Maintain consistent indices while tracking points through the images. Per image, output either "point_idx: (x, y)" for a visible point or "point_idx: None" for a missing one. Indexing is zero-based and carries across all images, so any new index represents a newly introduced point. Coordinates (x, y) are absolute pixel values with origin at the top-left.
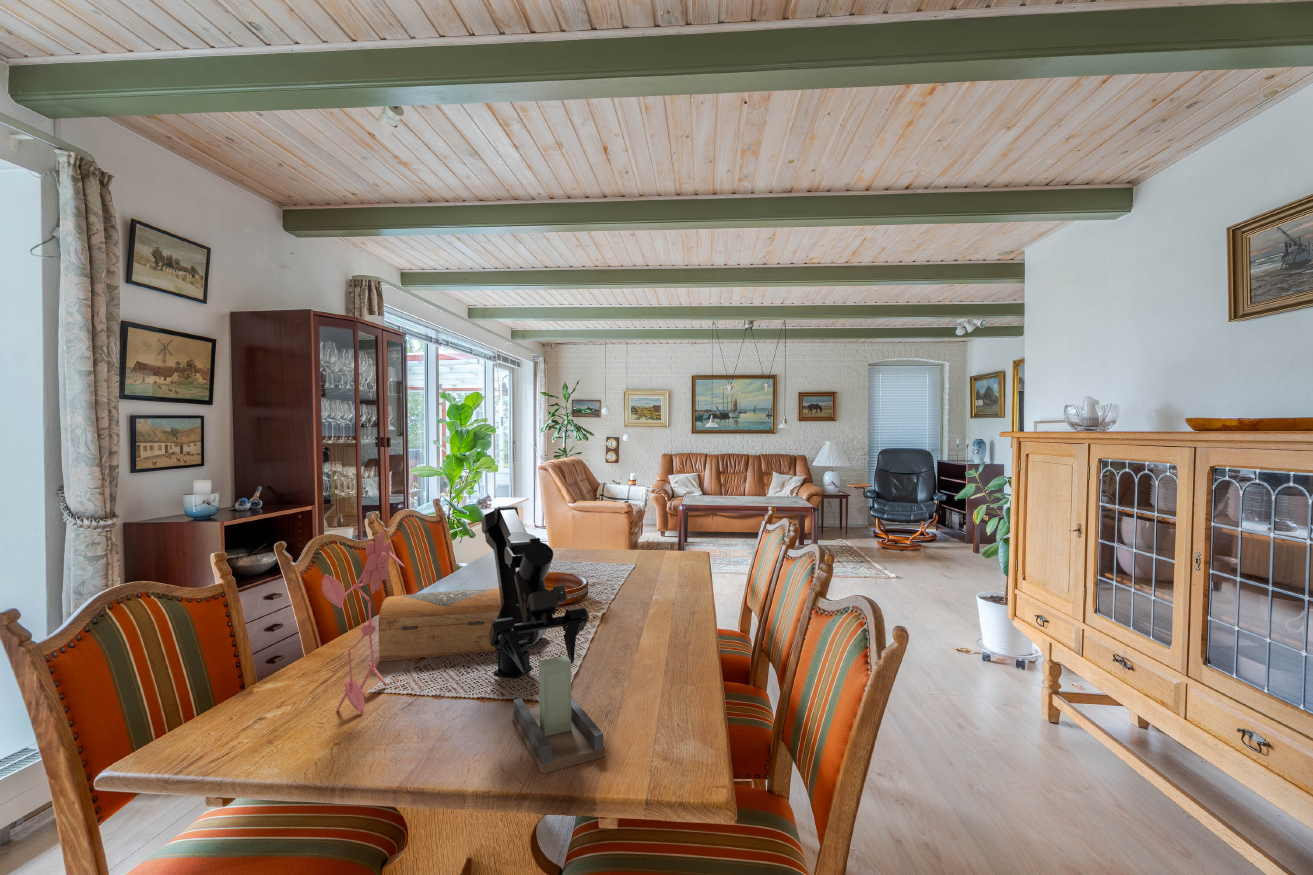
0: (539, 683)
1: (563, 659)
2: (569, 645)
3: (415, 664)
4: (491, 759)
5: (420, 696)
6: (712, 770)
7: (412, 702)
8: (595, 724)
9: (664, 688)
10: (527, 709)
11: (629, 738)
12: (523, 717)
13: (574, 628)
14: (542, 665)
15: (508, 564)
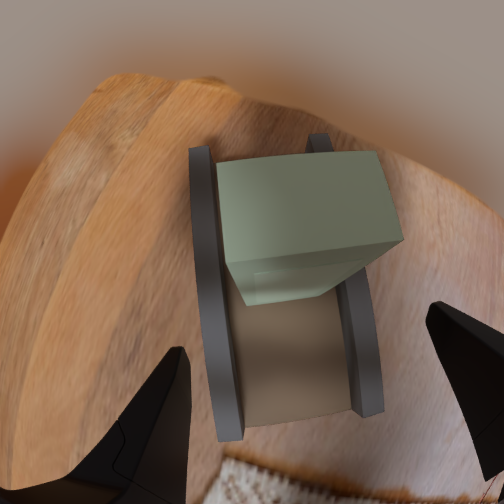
0: (358, 270)
1: (253, 203)
2: (163, 427)
3: None
4: (410, 241)
5: (481, 498)
6: (81, 116)
7: (494, 478)
8: (190, 190)
9: (17, 394)
10: (356, 339)
11: (127, 224)
12: (369, 298)
13: (69, 491)
14: (381, 174)
15: None
